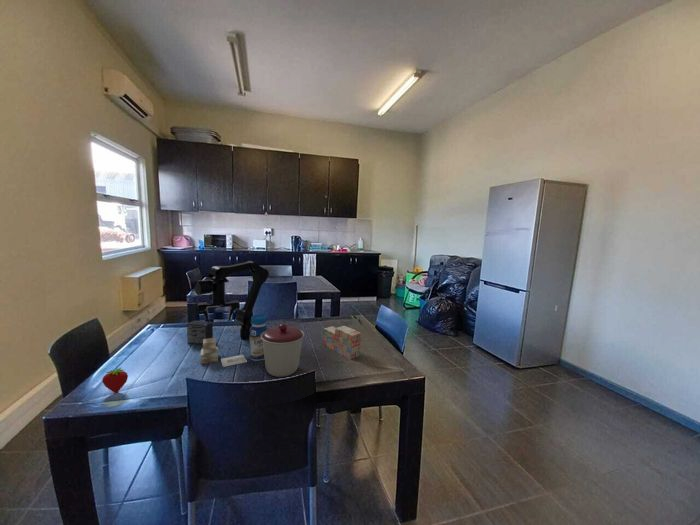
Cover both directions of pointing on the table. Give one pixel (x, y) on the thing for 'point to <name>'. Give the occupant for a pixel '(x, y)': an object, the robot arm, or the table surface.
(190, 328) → the small box
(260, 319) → the beverage bottle
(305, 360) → the table surface
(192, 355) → the table surface
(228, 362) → the page
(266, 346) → the canister
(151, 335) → the table surface
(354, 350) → the stack of blocks
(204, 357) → the tower base
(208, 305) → the robot arm
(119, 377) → the strawberry
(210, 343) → the beige cube
